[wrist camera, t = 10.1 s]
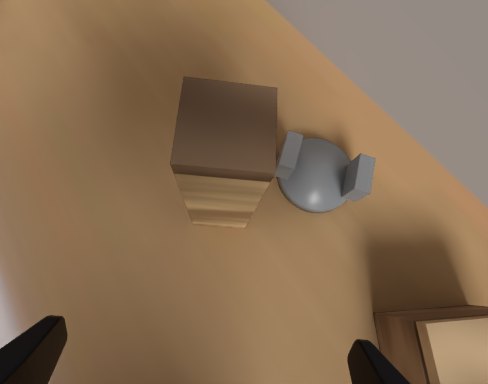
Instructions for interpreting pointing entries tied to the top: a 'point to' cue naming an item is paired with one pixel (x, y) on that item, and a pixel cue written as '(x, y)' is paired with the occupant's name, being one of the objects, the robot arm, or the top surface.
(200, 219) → the wooden block
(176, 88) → the top surface
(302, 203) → the grey rounded piece
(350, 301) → the top surface
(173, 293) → the top surface
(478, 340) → the lid
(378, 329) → the open wooden box
